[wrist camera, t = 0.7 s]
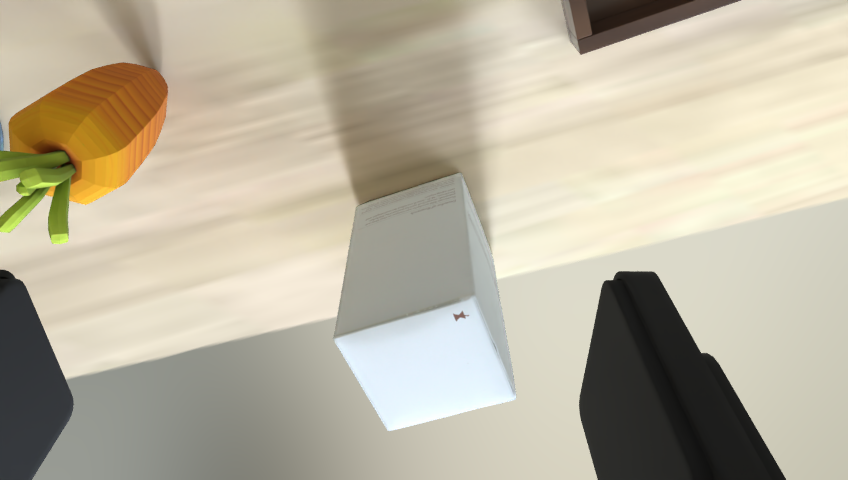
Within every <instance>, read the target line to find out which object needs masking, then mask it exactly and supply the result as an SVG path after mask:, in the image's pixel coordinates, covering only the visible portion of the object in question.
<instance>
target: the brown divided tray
mask: <svg viewBox="0 0 848 480" xmlns="http://www.w3.org/2000/svg"><path fill="white" fill-rule="evenodd" d="M738 1H741V0H561V2H562V6H563V11H564V15H565V20H566V24H567V29H568V33H569V38H570V42H571V43H572V44H573V46H574V47H575V48H576V49H577V51H578V52H579V53H580V54H581V55H582V54H585V53H588V52H591V51H593V50H596V49H599V48H602V47H605V46H608V45H611V44H614V43H617V42H620V41H623V40H626V39H629V38H632V37H635V36H638V35H641V34H644V33H646V32H649V31H652V30H655V29H658V28H661V27H664V26H667V25H670V24H673V23H676V22H679V21H682V20H685V19H688V18H691V17H694V16H697V15H700V14H702V13H705V12H708V11H711V10H714V9H717V8H720V7H723V6H726V5H729V4H732V3H735V2H738Z"/></svg>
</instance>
